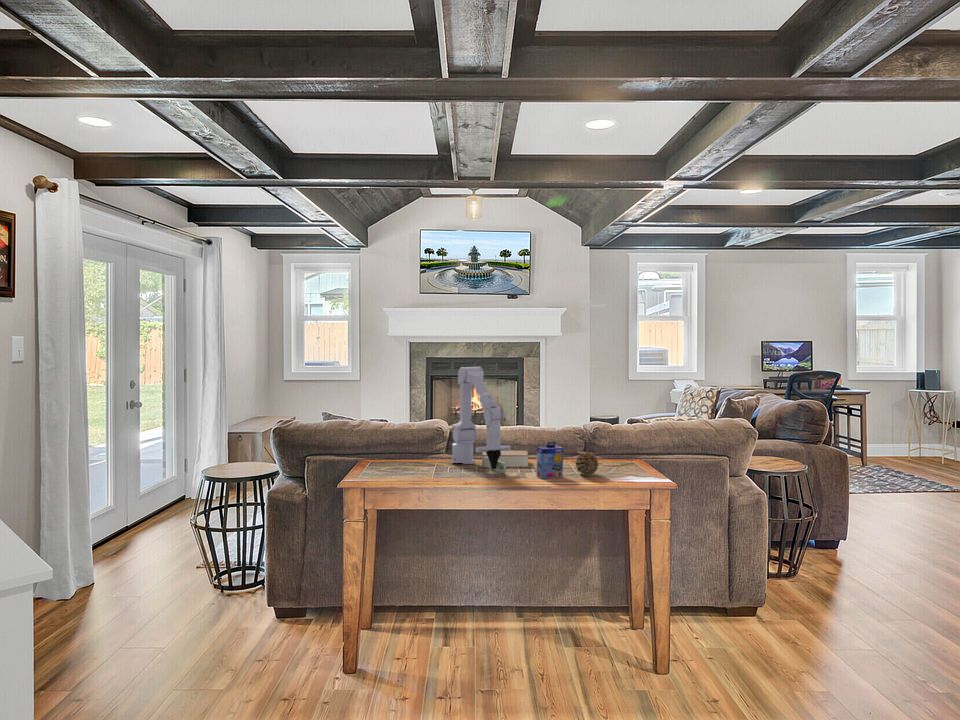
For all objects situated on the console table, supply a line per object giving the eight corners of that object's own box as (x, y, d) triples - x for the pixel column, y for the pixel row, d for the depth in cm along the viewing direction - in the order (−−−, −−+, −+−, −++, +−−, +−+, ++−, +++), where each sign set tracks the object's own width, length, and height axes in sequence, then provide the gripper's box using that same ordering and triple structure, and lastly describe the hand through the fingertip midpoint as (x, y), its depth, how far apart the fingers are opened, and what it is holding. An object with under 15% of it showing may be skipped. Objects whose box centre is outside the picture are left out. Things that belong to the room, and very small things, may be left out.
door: (481, 466, 289) (481, 456, 289) (484, 465, 290) (484, 456, 289) (502, 473, 272) (502, 463, 272) (506, 473, 273) (506, 463, 273)
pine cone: (602, 479, 263) (602, 454, 263) (578, 479, 263) (578, 454, 262) (591, 468, 285) (591, 445, 285) (568, 468, 285) (568, 445, 284)
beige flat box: (482, 466, 290) (482, 455, 289) (482, 461, 302) (482, 450, 301) (527, 466, 289) (527, 455, 289) (527, 461, 301) (526, 450, 301)
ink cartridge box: (542, 479, 263) (542, 443, 262) (535, 476, 268) (535, 441, 268) (563, 477, 267) (564, 441, 266) (557, 474, 272) (557, 439, 271)
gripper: (479, 438, 270) (479, 471, 270) (513, 436, 274) (513, 469, 275) (474, 436, 277) (474, 468, 277) (507, 434, 281) (507, 466, 281)
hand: (493, 468), depth 276 cm, fingers closed
